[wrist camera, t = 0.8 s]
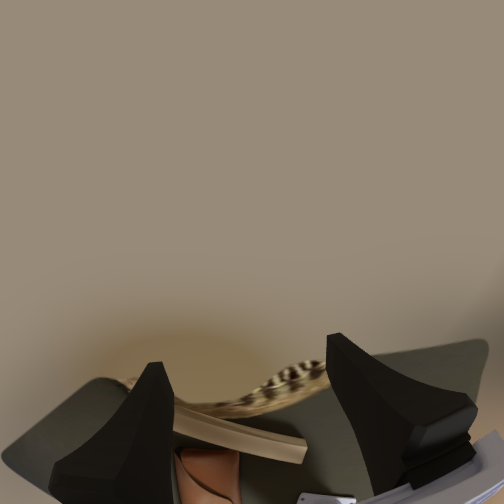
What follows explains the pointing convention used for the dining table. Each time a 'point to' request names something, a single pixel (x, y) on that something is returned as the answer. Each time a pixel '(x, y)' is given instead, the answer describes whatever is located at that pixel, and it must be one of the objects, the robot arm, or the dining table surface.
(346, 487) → the dining table surface
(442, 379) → the dining table surface
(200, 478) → the sunglasses case
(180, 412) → the bar
